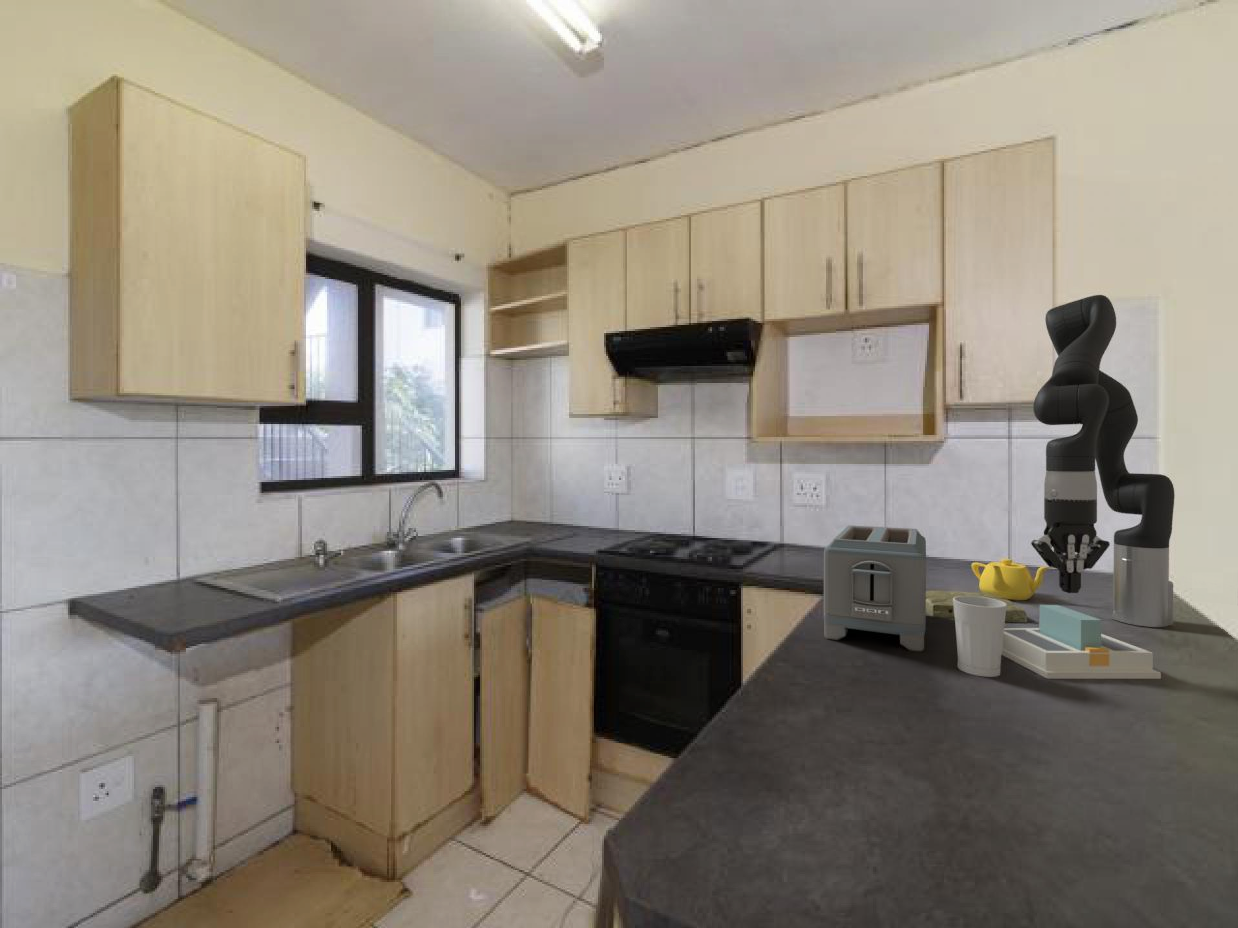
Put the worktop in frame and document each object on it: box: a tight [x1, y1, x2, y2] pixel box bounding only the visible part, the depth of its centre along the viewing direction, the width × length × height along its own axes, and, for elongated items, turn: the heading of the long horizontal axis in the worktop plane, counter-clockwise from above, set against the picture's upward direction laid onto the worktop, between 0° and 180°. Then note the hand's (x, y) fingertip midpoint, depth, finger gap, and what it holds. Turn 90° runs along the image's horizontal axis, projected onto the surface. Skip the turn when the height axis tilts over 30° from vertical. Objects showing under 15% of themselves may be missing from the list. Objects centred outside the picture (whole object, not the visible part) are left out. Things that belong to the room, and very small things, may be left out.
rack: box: [1001, 627, 1162, 680], centre depth 105 cm, size 19×16×5 cm
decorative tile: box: [926, 590, 1028, 623], centre depth 140 cm, size 19×20×4 cm
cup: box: [953, 596, 1007, 678], centre depth 101 cm, size 8×8×12 cm
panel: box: [1038, 604, 1103, 651], centre depth 105 cm, size 4×10×8 cm, turn 0°
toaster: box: [823, 524, 927, 652], centre depth 125 cm, size 19×33×20 cm, turn 152°
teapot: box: [970, 558, 1050, 601], centre depth 154 cm, size 14×13×10 cm
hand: (1069, 592), depth 105 cm, fingers closed
